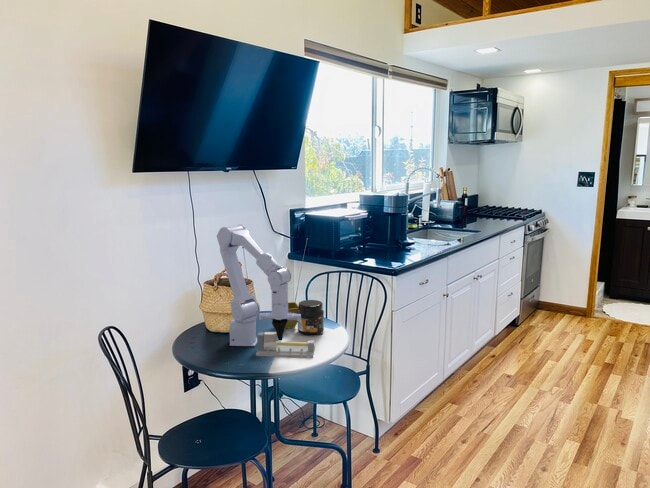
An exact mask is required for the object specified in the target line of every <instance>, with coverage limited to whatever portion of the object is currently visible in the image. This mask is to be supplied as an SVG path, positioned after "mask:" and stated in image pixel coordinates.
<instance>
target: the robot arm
mask: <svg viewBox="0 0 650 488" xmlns="http://www.w3.org/2000/svg"><path fill="white" fill-rule="evenodd" d="M216 238H217V242H218V245H219V252H220V255H221V259H222V262H223V266H224V269H225V272H226V276H227V279H228V281H229V284H230V288H231V291H232V294H233V297H232V300H230V303H229V304H230V308H231V309H230V313H231V314H230V315H231V317H232V318H233V319H231V320H230V322H229V346H231V347H234V346H235V347H256V346H257V323H256V322H257V318H258V317H259V321H263V320H266V321H267V320H270V321H271V324H272V326H273V328H274V331H275V332H276V333H277V341H282V340H283V338H284V332H285V329H286V328H285V326H286V324H287V321H288V320H297V321H300V320H301V314H295V313H288V302H289V283H290V282H291V279H292V272H291V271H290V269H289V268H288V267H287V266H282V265H281V264H280V263H278V261H276V259H275V258H273V255H272V254H271V253H268V252H264V251H263V249H261V248H260V247H259V245H258V244H257V243H256V241H255V240H254V239H253V238H252V237H251V235H250V231H249V230H248V229H247V228H246V226H245V225H243V224H237V225H231V226H223V227H220V229H219V230H218V232H217V234H216ZM240 247H243V248H244V250H246V251H247V252H248V253H249V254H250V255H251V256H252V257H253V258H254V259H255V261H256V266H258V267H259V269H260V270H261V271H263V273H264V274H265V276H267V282H268V284H269V287H270V290H271V312H263V313H262V312H260V310H261V308H260V303H259V302H258V301H257V300H256V297H255V295H254V294H252V293H250V292H249V290H248V289H249V288H248V286H247V284H246V280H245V277H244V275H243V269H242V267H241V265H240V261H239V258H238V254H237V250H238V249H239V248H240Z"/></svg>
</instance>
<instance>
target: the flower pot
mask: <svg viewBox="0 0 650 488" xmlns="http://www.w3.org/2000/svg"><path fill="white" fill-rule="evenodd" d="M298 310H299V304H298V303H297V302H296V301H291V302H289V301H288V313H295V314H297V311H298ZM297 326H298V321H297V320H288V321H287V324H286V326H285V329H294V328H296V327H297Z"/></svg>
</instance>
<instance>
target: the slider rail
mask: <svg viewBox="0 0 650 488" xmlns="http://www.w3.org/2000/svg"><path fill="white" fill-rule="evenodd" d="M264 333H265V331H264V332H261V331H259V332H257V334H256V338H257V343H256V347H257V350H256V352H255V357H278V358H282V357H283V358H284V357H285V358H286V357H287V358H314V354H315V349H316V345H315V339H309V340H308V341H307V342H302V341H278V342H276V345H278V347H277V350H269V347H267V350H264Z"/></svg>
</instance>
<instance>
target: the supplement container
mask: <svg viewBox="0 0 650 488" xmlns="http://www.w3.org/2000/svg"><path fill="white" fill-rule="evenodd" d="M298 306H299V310H298V311H297V314H301V320H300V321H298V323H297V332H298V334H300V335H302V336H306V337H315V336H319V335H322V334H323V333H324V330H325V326H324V325H325V323H324V318H325V316H324V315H325V311H324V304H323V302H322V301H320V300H316V299H306V300H301V301H299V302H298Z"/></svg>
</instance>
